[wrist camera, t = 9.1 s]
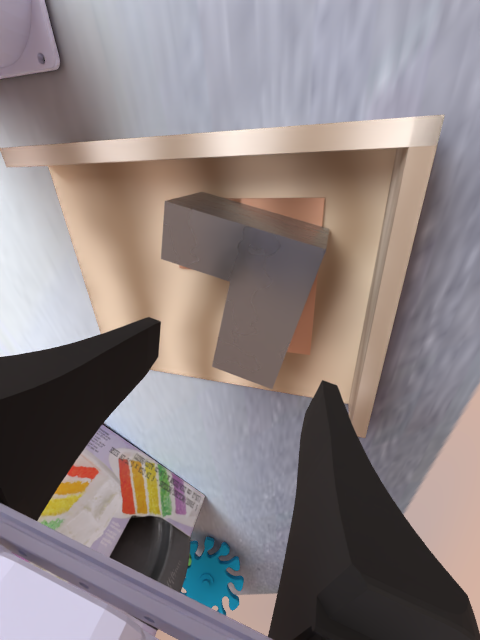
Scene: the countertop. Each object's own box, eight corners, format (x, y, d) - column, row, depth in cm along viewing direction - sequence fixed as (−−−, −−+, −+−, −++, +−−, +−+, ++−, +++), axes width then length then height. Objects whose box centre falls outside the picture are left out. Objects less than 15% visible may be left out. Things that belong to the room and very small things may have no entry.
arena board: (114, 359, 29) (87, 382, 26) (50, 149, 20) (-1, 148, 17) (361, 400, 23) (365, 438, 20) (421, 123, 14) (444, 114, 11)
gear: (257, 573, 39) (215, 650, 37) (256, 549, 44) (219, 615, 42) (190, 520, 40) (146, 591, 38) (197, 504, 46) (159, 565, 44)
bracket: (284, 348, 21) (272, 389, 18) (185, 313, 23) (154, 345, 19) (329, 228, 17) (326, 249, 13) (201, 191, 18) (164, 201, 14)
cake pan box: (215, 499, 36) (130, 738, 21) (196, 510, 39) (108, 728, 24) (89, 407, 34) (-100, 595, 20) (78, 425, 37) (-95, 602, 22)
